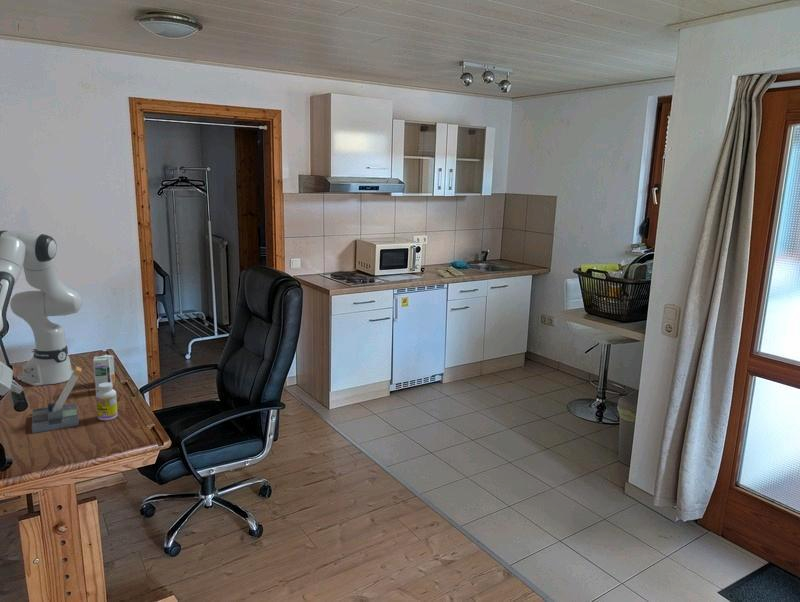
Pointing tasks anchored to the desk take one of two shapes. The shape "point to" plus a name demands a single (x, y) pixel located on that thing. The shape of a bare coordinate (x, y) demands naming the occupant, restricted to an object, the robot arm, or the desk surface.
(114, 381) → the skincare box
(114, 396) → the supplement bottle
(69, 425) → the breaker panel
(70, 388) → the lever
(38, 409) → the pair of grey rods
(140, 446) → the desk surface
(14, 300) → the robot arm
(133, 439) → the desk surface
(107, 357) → the syrup box
